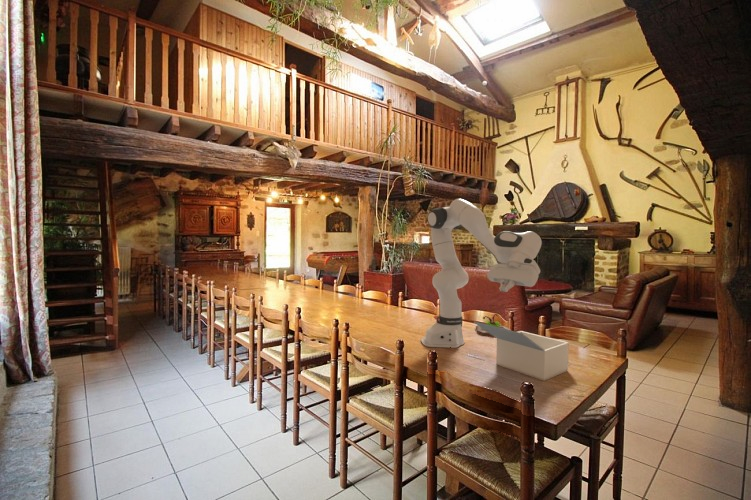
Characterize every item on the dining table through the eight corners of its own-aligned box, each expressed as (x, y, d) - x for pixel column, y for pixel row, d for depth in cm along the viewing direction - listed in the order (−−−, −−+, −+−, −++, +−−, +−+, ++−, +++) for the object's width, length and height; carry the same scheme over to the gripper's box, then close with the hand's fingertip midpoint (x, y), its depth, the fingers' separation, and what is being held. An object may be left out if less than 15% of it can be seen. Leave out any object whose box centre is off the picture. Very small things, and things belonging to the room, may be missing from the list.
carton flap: (473, 321, 148) (473, 322, 148) (522, 333, 130) (521, 334, 130) (496, 336, 157) (496, 337, 157) (544, 350, 139) (544, 351, 139)
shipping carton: (520, 355, 168) (521, 330, 168) (568, 370, 150) (568, 342, 150) (496, 364, 158) (496, 337, 157) (544, 381, 140) (544, 351, 139)
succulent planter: (513, 338, 197) (514, 318, 197) (477, 336, 201) (477, 316, 201) (508, 329, 217) (508, 310, 216) (475, 327, 221) (475, 309, 220)
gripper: (493, 257, 152) (478, 282, 147) (538, 261, 136) (523, 288, 131) (499, 267, 155) (484, 291, 150) (544, 271, 139) (529, 299, 133)
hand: (503, 290), depth 140 cm, fingers closed
